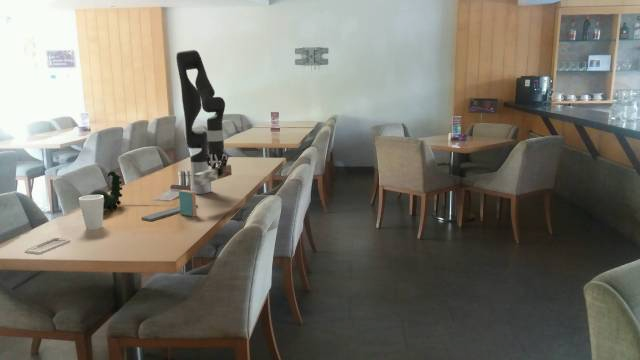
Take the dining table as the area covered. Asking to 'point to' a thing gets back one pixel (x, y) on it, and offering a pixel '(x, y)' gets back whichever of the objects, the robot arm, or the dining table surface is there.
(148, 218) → the rest mat
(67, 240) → the grey rectangular frame
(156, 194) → the dining table surface
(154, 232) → the dining table surface
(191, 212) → the tile
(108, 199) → the toy figurine
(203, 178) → the pale rectangular box
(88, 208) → the foam cup
